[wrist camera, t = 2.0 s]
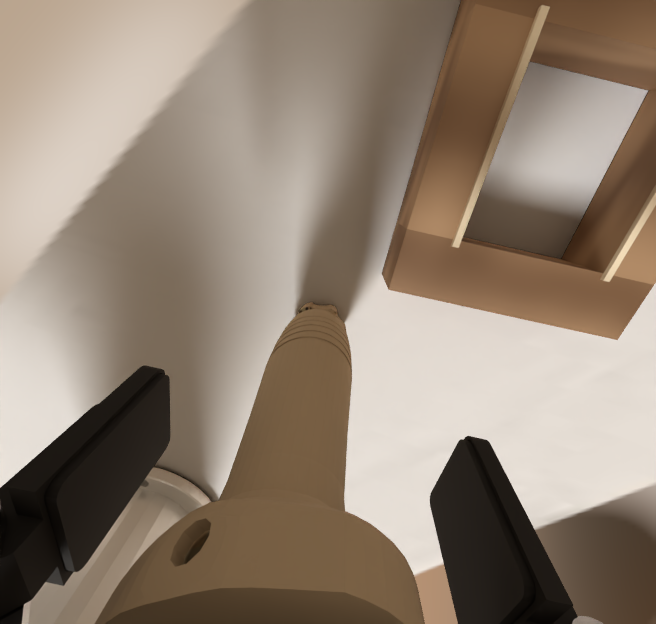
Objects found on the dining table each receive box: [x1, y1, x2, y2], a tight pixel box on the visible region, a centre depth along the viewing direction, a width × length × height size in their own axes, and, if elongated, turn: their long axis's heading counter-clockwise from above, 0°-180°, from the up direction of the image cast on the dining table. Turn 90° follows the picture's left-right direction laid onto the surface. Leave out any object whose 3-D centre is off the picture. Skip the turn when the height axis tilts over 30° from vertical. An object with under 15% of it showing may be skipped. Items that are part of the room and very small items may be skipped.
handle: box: [95, 302, 425, 624], centre depth 12 cm, size 5×6×15 cm
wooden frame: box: [382, 0, 656, 340], centre depth 14 cm, size 14×12×3 cm
